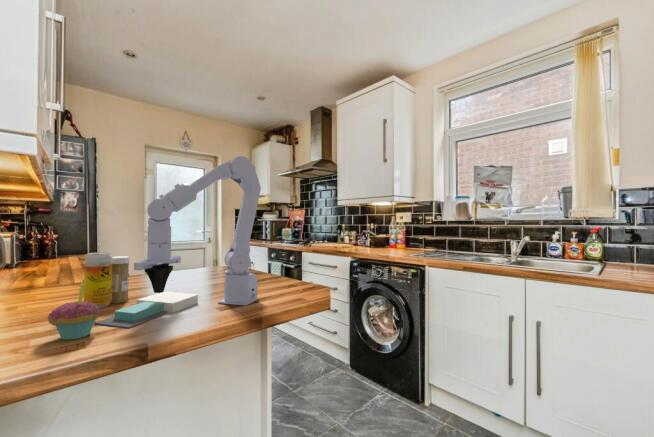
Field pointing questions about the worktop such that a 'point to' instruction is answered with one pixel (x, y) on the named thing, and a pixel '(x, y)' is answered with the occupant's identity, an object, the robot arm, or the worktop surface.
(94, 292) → the beer can
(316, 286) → the worktop surface
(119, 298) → the sprinkles bottle
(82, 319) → the cupcake
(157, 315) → the mat
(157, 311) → the teal rectangular block
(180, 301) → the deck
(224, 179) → the robot arm
